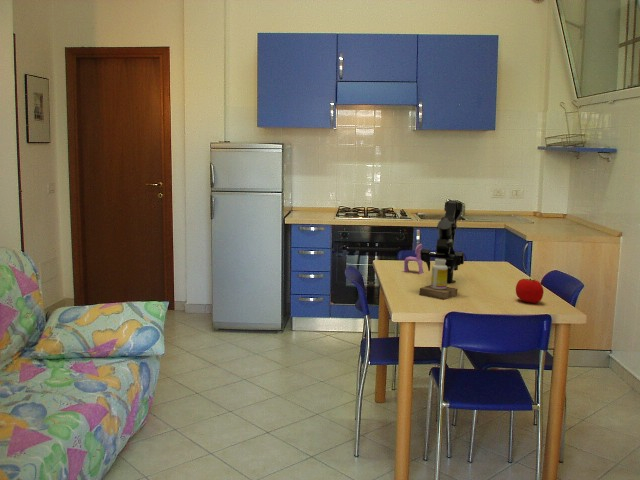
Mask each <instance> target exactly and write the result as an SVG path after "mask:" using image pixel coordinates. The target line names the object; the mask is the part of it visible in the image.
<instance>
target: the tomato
mask: <svg viewBox="0 0 640 480" xmlns="http://www.w3.org/2000/svg"><path fill="white" fill-rule="evenodd" d="M515 294H516V296H517V297H518V299H519V300H520V301H522V302H525V303H529V304H537V303H540V302H541V300H542V299H543V296H544V287H543V285H542V283H541V282H540V281H538V280H537V278H536V279H531V278H521V279H519V280H518V281H517V283H516V285H515Z"/></svg>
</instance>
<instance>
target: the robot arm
mask: <svg viewBox="0 0 640 480" xmlns="http://www.w3.org/2000/svg"><path fill="white" fill-rule="evenodd" d="M443 209H444V212H445V215H444V216H443V217H441V219H440V221H438V222H437V226H436V227H437V230H438V231H437V232H438V239H436V246H435V251H436V252H431V248H422V250H421V253H420V254H421V256H420V258H421V260H422V262H424V263H425V264H426V265H427V266H426V267H427V271H428V272H430V271H431V258H435V259H445V260H446V263H445V265H446V266H447V267H448V272H447V284H451V283H452V284H453V283H456V280H454V271H458V270H459V266H460V265H464V262H465V253H464V251H455V249H454V247H455V239H456V231H457V229H458V225H457V222H458V221H459V219H460V218H461V216H462V213H463V212H464V211H463V210H464V204H463V203H462V202H459V201H457V200H452V199H448V200H447V201H445V203H444V208H443Z"/></svg>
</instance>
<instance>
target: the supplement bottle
mask: <svg viewBox="0 0 640 480" xmlns="http://www.w3.org/2000/svg"><path fill="white" fill-rule="evenodd" d="M434 263H435V264H433V265H432V267H431V268H432V269H431V283H430V285H431V287H432V288H433V289H438V290H443V289H446V287H448V286H447V285H448V283H447V272H448V267H447V266H446V265H445V263H446V260H445V259H439V258H434Z"/></svg>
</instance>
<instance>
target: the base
mask: <svg viewBox="0 0 640 480" xmlns="http://www.w3.org/2000/svg"><path fill="white" fill-rule="evenodd" d="M458 290H459V289H458V288H455V287H449V286H446V289H443V290H438V289H433V288H432V287H431V284H430V285H426V286H422V287H419V294H418V295H419V296H424V297H428V298H433V299H439V300H442V301H443V300H447V299H451V298H454V297H456V296H458Z"/></svg>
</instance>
